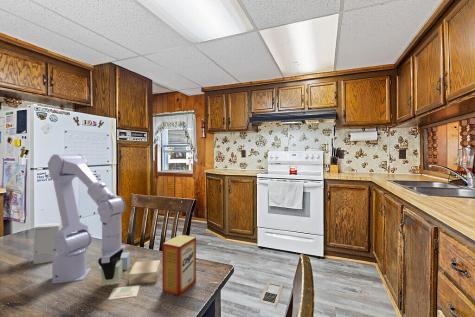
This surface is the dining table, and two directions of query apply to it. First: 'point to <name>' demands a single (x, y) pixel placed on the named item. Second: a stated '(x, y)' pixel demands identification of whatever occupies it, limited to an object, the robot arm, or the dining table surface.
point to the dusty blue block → (125, 260)
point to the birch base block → (145, 272)
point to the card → (124, 292)
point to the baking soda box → (178, 264)
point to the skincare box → (45, 242)
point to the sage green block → (116, 274)
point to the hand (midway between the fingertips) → (111, 274)
